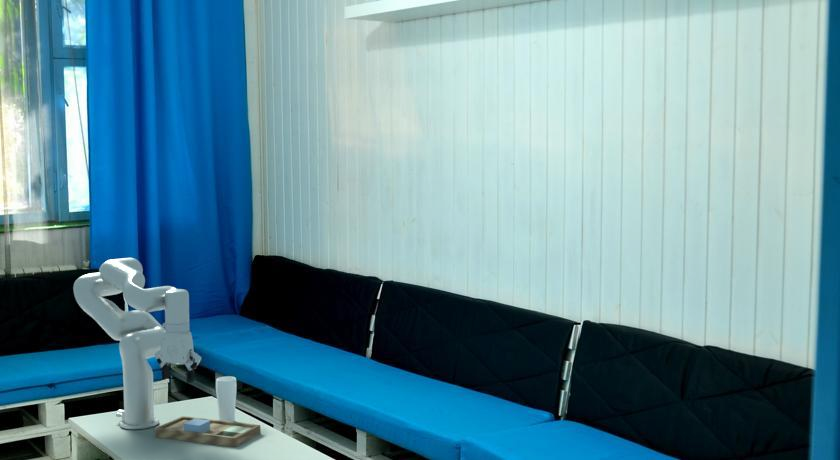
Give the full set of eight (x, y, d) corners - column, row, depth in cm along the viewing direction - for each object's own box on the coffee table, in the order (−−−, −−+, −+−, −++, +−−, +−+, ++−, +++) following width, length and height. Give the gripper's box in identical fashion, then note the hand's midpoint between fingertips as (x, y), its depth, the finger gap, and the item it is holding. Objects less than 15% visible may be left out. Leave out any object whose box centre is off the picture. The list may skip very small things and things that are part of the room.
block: (183, 432, 298) (183, 423, 298) (194, 427, 303) (194, 418, 303) (199, 434, 296) (199, 425, 295) (210, 429, 301) (210, 420, 301)
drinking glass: (232, 425, 313) (231, 381, 312) (213, 424, 314) (212, 380, 313) (240, 419, 320) (239, 376, 318) (221, 418, 321) (220, 375, 320)
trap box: (155, 436, 300) (155, 428, 300) (182, 424, 314) (182, 416, 314) (235, 447, 290) (235, 438, 290) (260, 433, 304) (260, 425, 303)
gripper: (147, 327, 299) (148, 380, 300) (193, 332, 293) (194, 385, 294) (161, 323, 306) (162, 375, 307) (207, 327, 300) (207, 380, 301)
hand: (178, 380), depth 301 cm, fingers open, 9 cm apart
